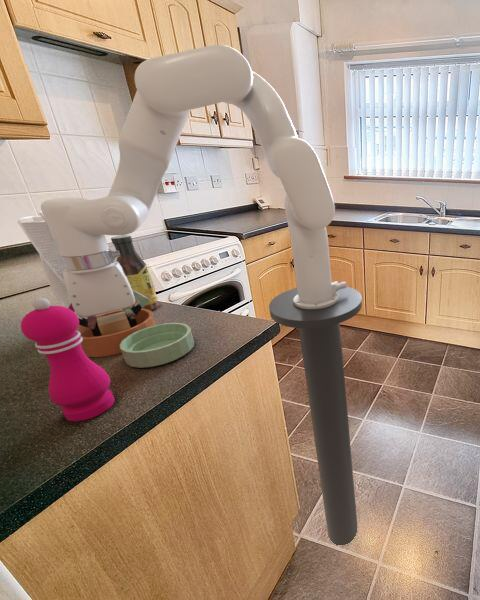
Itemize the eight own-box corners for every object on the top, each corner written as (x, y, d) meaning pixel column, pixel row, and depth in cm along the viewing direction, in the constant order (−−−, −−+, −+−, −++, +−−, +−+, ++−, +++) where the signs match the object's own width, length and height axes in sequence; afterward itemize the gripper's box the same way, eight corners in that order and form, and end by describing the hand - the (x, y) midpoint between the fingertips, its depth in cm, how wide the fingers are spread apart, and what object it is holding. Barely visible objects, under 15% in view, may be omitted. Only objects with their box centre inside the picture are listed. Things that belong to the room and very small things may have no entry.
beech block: (131, 330, 80) (124, 311, 78) (134, 337, 76) (127, 318, 74) (104, 337, 77) (96, 317, 75) (106, 345, 73) (97, 325, 71)
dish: (187, 332, 79) (183, 317, 78) (201, 353, 71) (196, 337, 69) (123, 351, 72) (116, 335, 70) (130, 377, 64) (123, 359, 62)
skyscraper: (113, 321, 85) (69, 207, 74) (71, 333, 79) (16, 212, 68) (103, 312, 90) (59, 204, 78) (63, 323, 84) (9, 209, 72)
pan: (152, 319, 86) (147, 303, 84) (163, 340, 76) (157, 322, 74) (77, 338, 77) (69, 321, 75) (79, 365, 67) (70, 346, 65)
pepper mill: (53, 415, 54) (-8, 303, 46) (104, 389, 60) (58, 286, 52) (75, 430, 52) (14, 313, 43) (127, 401, 57) (82, 293, 49)
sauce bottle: (161, 309, 91) (138, 236, 83) (133, 316, 88) (106, 241, 80) (157, 301, 96) (134, 232, 88) (130, 308, 92) (104, 236, 84)
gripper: (137, 249, 77) (160, 320, 84) (31, 265, 66) (68, 344, 74) (142, 256, 72) (166, 331, 79) (28, 274, 61) (69, 358, 69)
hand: (119, 336), depth 76 cm, fingers closed on beech block, 5 cm apart
